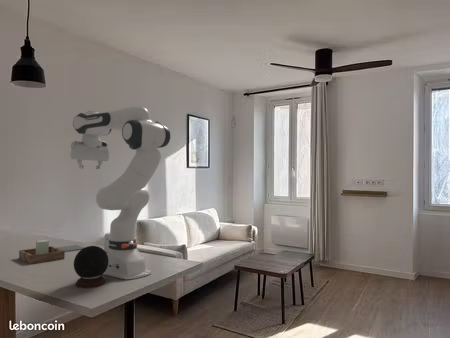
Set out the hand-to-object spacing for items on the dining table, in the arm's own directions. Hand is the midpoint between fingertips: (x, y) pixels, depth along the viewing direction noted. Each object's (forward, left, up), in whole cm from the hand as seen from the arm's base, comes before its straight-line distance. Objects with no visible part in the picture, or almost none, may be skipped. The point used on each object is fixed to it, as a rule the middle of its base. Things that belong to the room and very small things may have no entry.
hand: (89, 168), depth 178 cm
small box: (+6, -19, -47) cm, 51 cm away
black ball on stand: (-40, +18, -47) cm, 64 cm away
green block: (+15, +16, -47) cm, 52 cm away
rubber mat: (+28, -5, -47) cm, 55 cm away
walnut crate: (+15, +16, -47) cm, 52 cm away
